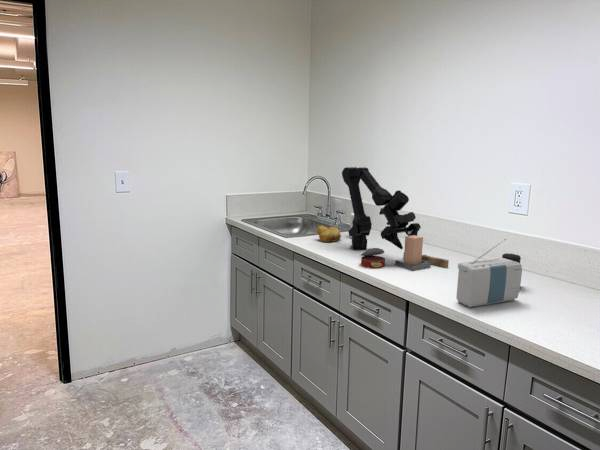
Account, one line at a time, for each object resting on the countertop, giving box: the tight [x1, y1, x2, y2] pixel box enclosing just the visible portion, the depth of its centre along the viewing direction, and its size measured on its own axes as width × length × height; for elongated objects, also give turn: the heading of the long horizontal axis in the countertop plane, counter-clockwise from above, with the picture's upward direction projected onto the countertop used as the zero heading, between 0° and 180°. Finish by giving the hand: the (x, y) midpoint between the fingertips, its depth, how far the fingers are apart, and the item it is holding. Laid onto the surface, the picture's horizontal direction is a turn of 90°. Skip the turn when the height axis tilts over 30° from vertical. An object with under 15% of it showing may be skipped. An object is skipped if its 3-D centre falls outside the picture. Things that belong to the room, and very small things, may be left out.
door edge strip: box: [402, 254, 450, 269], centre depth 201 cm, size 20×2×3 cm, turn 47°
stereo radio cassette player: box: [456, 238, 523, 308], centre depth 153 cm, size 21×8×20 cm, turn 114°
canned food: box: [360, 247, 386, 269], centre depth 195 cm, size 11×10×10 cm
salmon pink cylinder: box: [403, 235, 424, 265], centre depth 194 cm, size 5×5×12 cm
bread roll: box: [316, 224, 342, 243], centre depth 239 cm, size 13×10×8 cm
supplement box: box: [349, 212, 354, 240], centre depth 247 cm, size 7×7×13 cm
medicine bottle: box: [501, 252, 523, 285], centre depth 170 cm, size 7×7×12 cm
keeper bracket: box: [393, 259, 432, 271], centre depth 195 cm, size 10×10×2 cm
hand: (410, 247), depth 196 cm, fingers open, 9 cm apart
